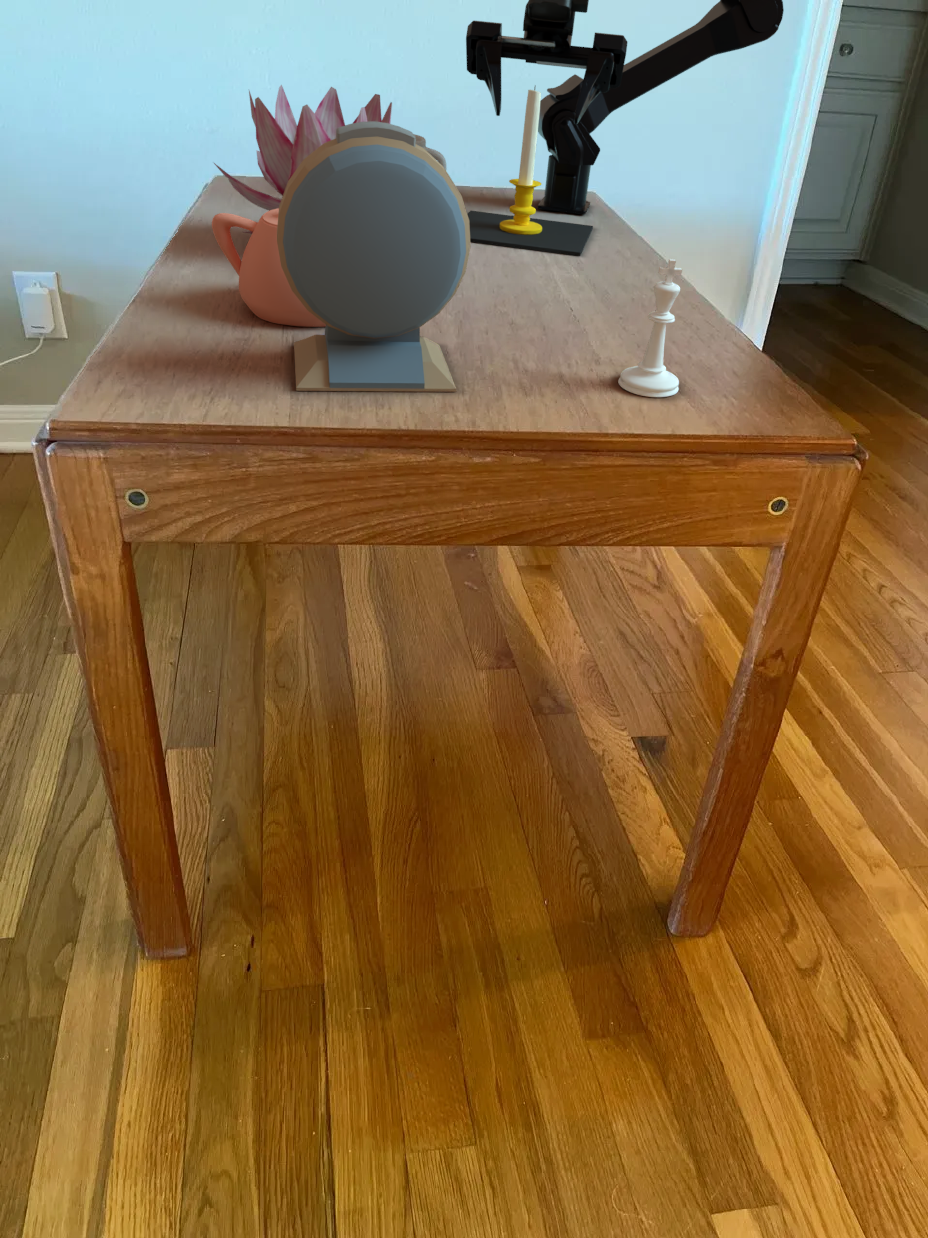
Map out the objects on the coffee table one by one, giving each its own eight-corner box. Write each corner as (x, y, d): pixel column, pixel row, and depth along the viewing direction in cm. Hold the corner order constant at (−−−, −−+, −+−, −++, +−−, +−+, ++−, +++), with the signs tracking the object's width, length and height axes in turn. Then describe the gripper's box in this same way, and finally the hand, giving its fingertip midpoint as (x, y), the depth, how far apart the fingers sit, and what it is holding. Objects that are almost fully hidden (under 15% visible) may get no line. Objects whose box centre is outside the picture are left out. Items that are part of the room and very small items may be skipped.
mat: (470, 213, 123) (470, 210, 123) (592, 228, 121) (593, 225, 121) (445, 238, 112) (445, 234, 111) (580, 255, 110) (580, 252, 109)
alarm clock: (450, 347, 82) (465, 117, 71) (469, 391, 74) (488, 140, 64) (281, 345, 79) (272, 106, 69) (282, 390, 71) (271, 129, 61)
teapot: (231, 282, 92) (223, 176, 86) (416, 296, 93) (420, 192, 87) (202, 323, 82) (192, 206, 77) (410, 338, 83) (415, 223, 77)
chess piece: (612, 373, 79) (633, 249, 74) (669, 375, 80) (694, 252, 74) (625, 396, 75) (648, 267, 70) (685, 398, 76) (713, 270, 70)
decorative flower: (182, 258, 97) (166, 92, 89) (280, 217, 114) (274, 74, 106) (374, 292, 93) (377, 120, 84) (447, 244, 109) (456, 96, 101)
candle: (516, 221, 119) (529, 80, 110) (550, 230, 117) (567, 86, 108) (490, 227, 116) (503, 82, 107) (525, 236, 113) (540, 88, 104)
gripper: (474, -65, 106) (456, 57, 104) (641, -50, 105) (626, 74, 103) (475, 14, 117) (458, 126, 115) (626, 29, 116) (612, 143, 114)
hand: (537, 117), depth 111 cm, fingers open, 9 cm apart
